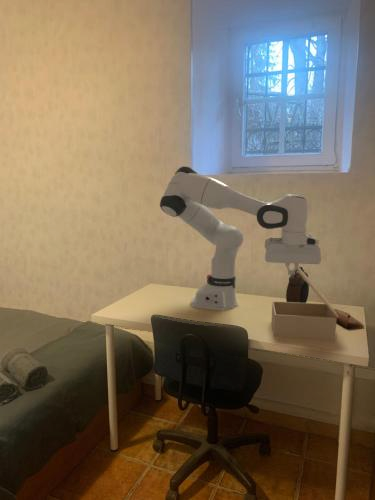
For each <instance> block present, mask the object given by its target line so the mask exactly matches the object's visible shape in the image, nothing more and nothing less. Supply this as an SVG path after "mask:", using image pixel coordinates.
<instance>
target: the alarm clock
mask: <svg viewBox="0 0 375 500" xmlns="http://www.w3.org/2000/svg"><path fill="white" fill-rule="evenodd" d="M299 268H300V269H301V270H302V271H303V272H304V273H305V275H306V276H307V277H308V278H309V275H308V273H307V272H306V271H305V269H304V268H303V267H302V266H299ZM309 291H310V286H309V285H308V283H307V282H306V281H305V280H304V279H303V278H302V276H301V275H300V274H299V273H298V271H297V269H296V271H295V275H289V278H288V283H287V287H286V292H285V300H286V301H285V302H297V303H308V302H307V301H308V298H309Z"/></svg>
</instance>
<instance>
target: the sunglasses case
mask: <svg viewBox="0 0 375 500" xmlns="http://www.w3.org/2000/svg"><path fill="white" fill-rule="evenodd" d="M333 309H334V310H335V312H336V313H337V315H338V318H337V317H336V318H337V320H336V323H337V324H339V325H340V326H342V327H344V328H345V329H347V330H359V329H362V328H364V327H365V325H364V324H363V323H362V322H361V321H359V319H356V318H355V317H354V316H352V315H351V314H350V313H348V312H345V311H343V310H340V309H337V308H334V307H333Z"/></svg>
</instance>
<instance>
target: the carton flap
mask: <svg viewBox="0 0 375 500" xmlns="http://www.w3.org/2000/svg"><path fill="white" fill-rule="evenodd" d="M299 267H300V266H299ZM299 267H298V268H297V272H298V273H299V274H300V275H301V276H302V278H303V279H304V280H305V281H306V282H307V283H308V285H309V288H311V289H312V290H313V292H314V293H315V294H316V295H317V297H319V298H320V300H321V301H322V302H323V304H326V305H327V306H328V308H329V309H330V310H331V311H332V312H333V313H334V315H335V316H336V317H337V318H338V315H337V313H336V312H335V310H334V309H335V308H334V307H333V306H332V304H331V303H330V301H329V300H328V298H326V296H325V295H324V294H323V293H322V292H321V291H320V290H319V288H318V287H317V286H316V285H315V284H314V283H313V282H312V280H311V279H310V278H309V276H308V277H307V276H306V275H305V273H304V272H305V271H304V272H303V271H302V270H301V269H300V268H299ZM333 308H334V309H333Z"/></svg>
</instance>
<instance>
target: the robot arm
mask: <svg viewBox="0 0 375 500" xmlns="http://www.w3.org/2000/svg"><path fill="white" fill-rule="evenodd" d="M159 207H160V209H161V210H162V212H163V213H165V214H166V215H168V216H170V217H172V218H177V217H178V218H180V219H181V221H183V222H184V223H185V224H187V225H188V226H190V227H191V228H192V229H194V230H195V231H197V233H199V234H200V235H201V236H202V237H204V238H205V240H207V241H208V242H210V243H211V244H212V245H213V246H215V252H214V255H213V257H212V258H211V267H210V268H211V272H210V273H211V274H210V273H208V274H207V275H206V283H205V284H203V285H202V286H201V287H200V288H198V289H197V291H196V293H195V297H193V298H192V299H191V300H190V303H189V304H190V306H191V307H192V308H198V309H207V310H213V311H225V310H230V309H234V308H236V307H237V306H238V301H237V297H236V284H237V283H236V276H235V274H236V273H235V271H236V258H237V253H238V250H239V248H240V247H241V246H242V245H243V242H244V236H243V235H244V234H243V233H242V231H241V230H240V229H239V228H237V227H236V226H235V225H231V224H226V223H224V222H223V221H222V220H221V219H219V218H218V217H217V216H216V215H215V214H214V212H213V211H212V210H210V209H215V210H226V209H234V210H239V211H242V212H244V213H247V214H250V215H253V216H255V217H256V220H257V223H258V225H259V226H260V227H262V228H264V229H267V230H273V229H278V228H281V235H280V237H269V238H267V239H266V240H265V241H264V248H265V254H264V260H265V262H266V263H273V264H275V263H277V264H279V263H280V264H284V265H285V266H286V269H287V275H288V276H291V275H295V271H296V269H297V268H298V267H300V266H299V265H301V264H302V265H320V264H321V262H322V254H321V253H322V252H321V248H320V246H319V243H320V241H319V239H318V238H317V237H316V236H313V235H310V234H307V222H308V212H309V211H308V201H307V199H306V198H305V197H304V196H302V195H297V194H291V193H287V194H285V195H284V196H282V197H281V198H278V199H276V200H267V201H264V200H261V199H257V198H254V197H251V196H249V195H246V194H245V193H242V192H241V193H240V192H239V191H237V190H235V189H234V188H232V187H230V186H229V185H227V184H226V183H224V182H222V181H219V180H218V179H216V178H213V177H210V176H206V175H203V174H199V173H197V171H196V170H195V169H193V168H192V167H190V166H180V167H179V168H178V169H177V170H176V171H175V173H174V175H173V176H172V177H171V179H170V181H169V183H168V185H167V187H166V189H165V190H164V194H163V196H162V197H161V199H160V202H159ZM209 208H210V209H209ZM290 264H293V265H294V267H293V268H290V266H291V265H290Z"/></svg>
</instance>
